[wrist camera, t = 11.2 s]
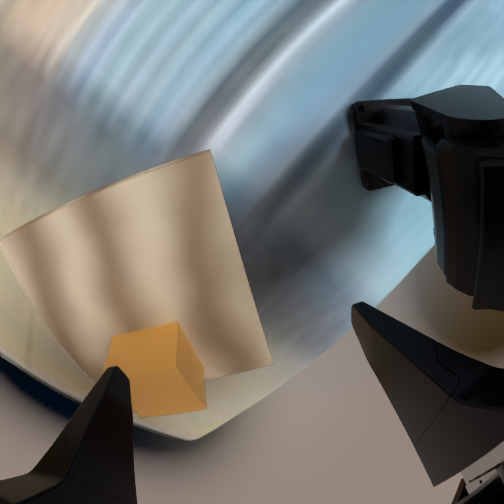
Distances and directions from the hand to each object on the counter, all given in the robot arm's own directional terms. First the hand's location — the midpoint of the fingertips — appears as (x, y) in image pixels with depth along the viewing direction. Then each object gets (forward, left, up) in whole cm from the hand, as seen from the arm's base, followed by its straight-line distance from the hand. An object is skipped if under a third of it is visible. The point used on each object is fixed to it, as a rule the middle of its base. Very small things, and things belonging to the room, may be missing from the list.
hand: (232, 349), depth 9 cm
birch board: (+8, +4, -11) cm, 14 cm away
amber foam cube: (+8, +9, -10) cm, 15 cm away
